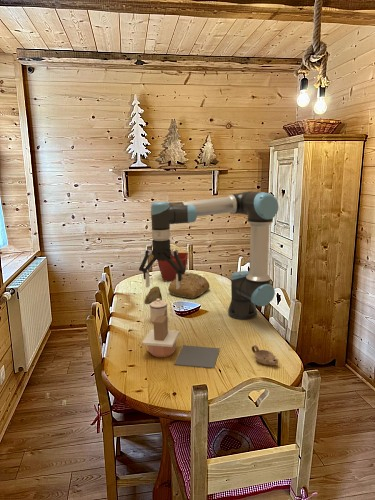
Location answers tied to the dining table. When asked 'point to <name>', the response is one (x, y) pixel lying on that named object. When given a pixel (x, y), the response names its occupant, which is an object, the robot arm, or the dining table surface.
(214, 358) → the mat
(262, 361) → the oil lamp
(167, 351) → the bowl
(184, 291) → the bread
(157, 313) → the teacup with lid
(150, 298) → the rock
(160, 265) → the plant pot
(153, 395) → the dining table surface
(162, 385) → the dining table surface
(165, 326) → the lid
